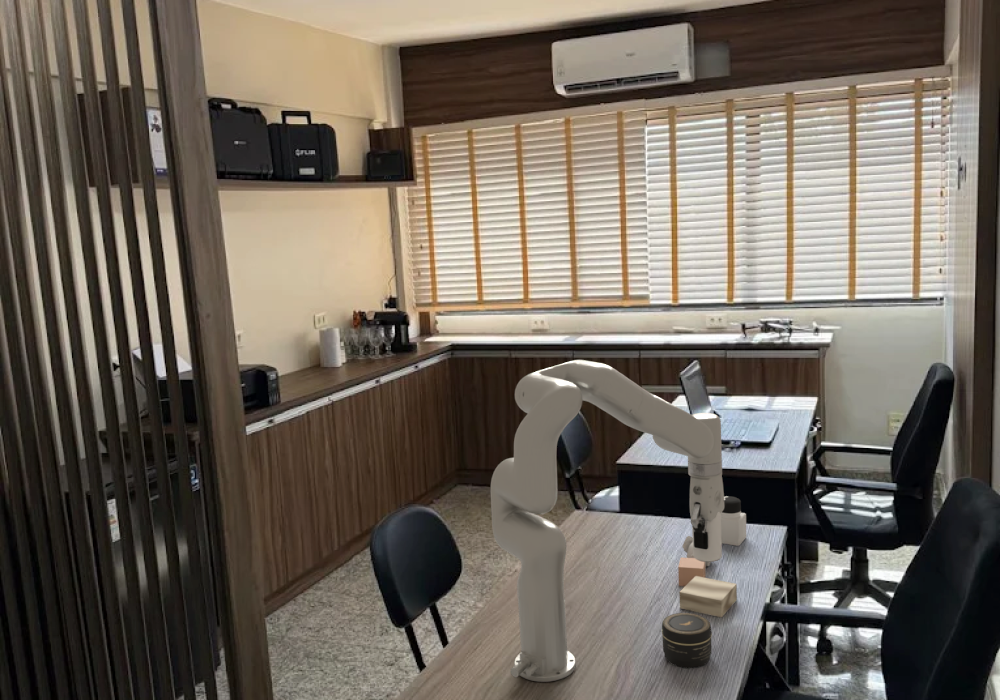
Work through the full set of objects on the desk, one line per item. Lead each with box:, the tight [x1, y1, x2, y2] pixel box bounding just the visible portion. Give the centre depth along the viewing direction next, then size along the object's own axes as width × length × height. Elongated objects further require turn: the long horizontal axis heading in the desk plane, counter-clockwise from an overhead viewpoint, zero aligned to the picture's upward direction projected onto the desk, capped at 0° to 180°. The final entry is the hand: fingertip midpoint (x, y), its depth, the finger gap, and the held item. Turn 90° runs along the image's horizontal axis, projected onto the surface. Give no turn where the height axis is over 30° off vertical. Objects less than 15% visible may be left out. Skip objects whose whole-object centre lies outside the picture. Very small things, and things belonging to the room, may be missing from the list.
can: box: [691, 512, 723, 563], centre depth 195 cm, size 6×6×12 cm
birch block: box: [679, 576, 738, 618], centre depth 198 cm, size 10×10×4 cm
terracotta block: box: [677, 557, 707, 587], centre depth 210 cm, size 6×6×5 cm
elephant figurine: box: [682, 535, 712, 569], centre depth 220 cm, size 8×10×7 cm
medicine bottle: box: [720, 495, 747, 547], centre depth 234 cm, size 7×7×12 cm
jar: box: [661, 612, 713, 669], centre depth 174 cm, size 10×10×8 cm
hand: (707, 542), depth 196 cm, fingers closed on can, 6 cm apart
